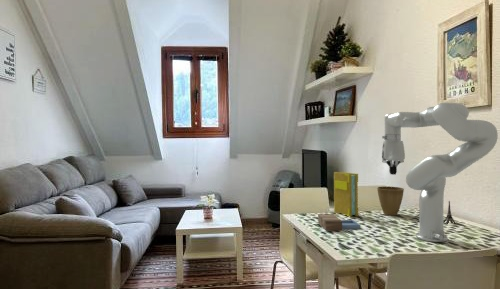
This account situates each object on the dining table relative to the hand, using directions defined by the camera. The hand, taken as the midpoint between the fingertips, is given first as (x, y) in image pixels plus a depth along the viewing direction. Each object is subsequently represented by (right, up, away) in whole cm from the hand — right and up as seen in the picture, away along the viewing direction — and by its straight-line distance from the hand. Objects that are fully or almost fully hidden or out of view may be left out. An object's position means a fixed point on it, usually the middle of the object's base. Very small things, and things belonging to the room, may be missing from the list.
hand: (393, 174), depth 169 cm
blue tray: (-25, -27, +3) cm, 37 cm away
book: (-15, -28, +35) cm, 47 cm away
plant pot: (+12, -27, +32) cm, 44 cm away
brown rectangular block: (-31, -27, +3) cm, 41 cm away
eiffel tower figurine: (+34, -28, +9) cm, 45 cm away
